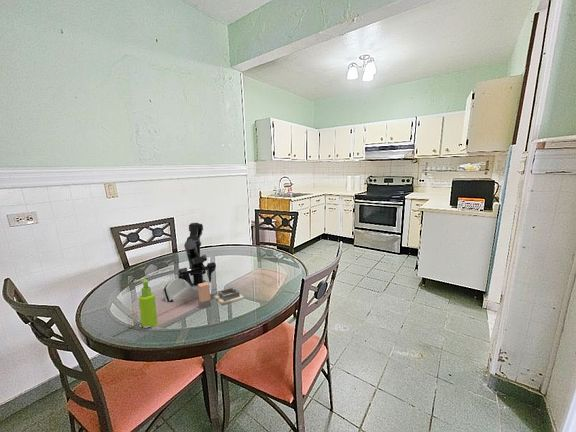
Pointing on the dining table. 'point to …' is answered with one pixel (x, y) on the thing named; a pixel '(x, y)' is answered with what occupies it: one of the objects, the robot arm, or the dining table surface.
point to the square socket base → (228, 296)
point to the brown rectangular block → (204, 294)
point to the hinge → (175, 290)
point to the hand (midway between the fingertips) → (201, 284)
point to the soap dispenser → (147, 305)
